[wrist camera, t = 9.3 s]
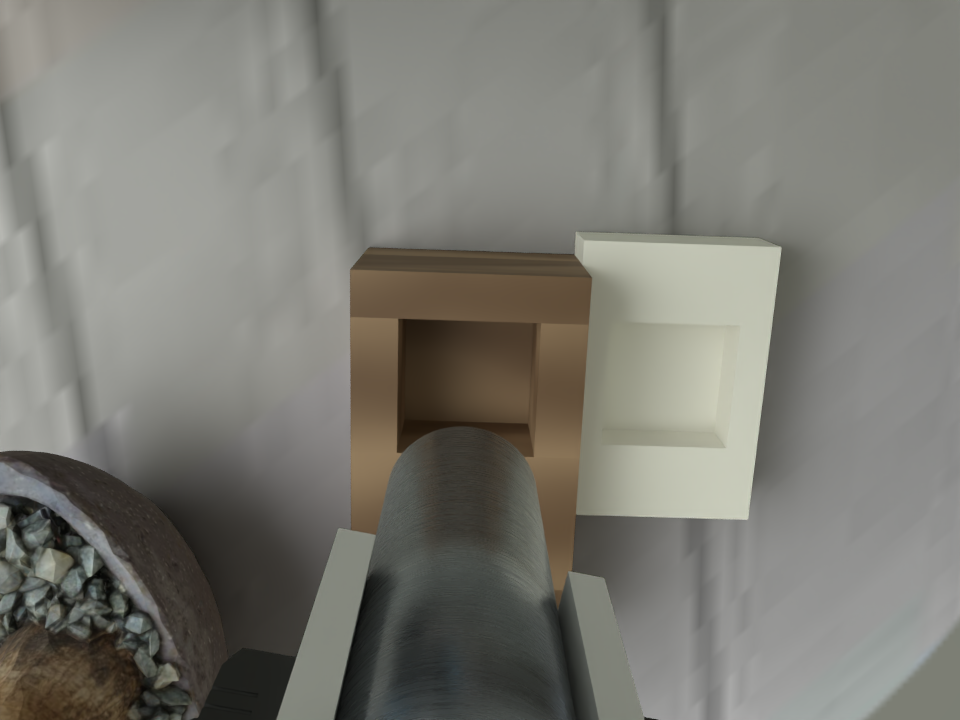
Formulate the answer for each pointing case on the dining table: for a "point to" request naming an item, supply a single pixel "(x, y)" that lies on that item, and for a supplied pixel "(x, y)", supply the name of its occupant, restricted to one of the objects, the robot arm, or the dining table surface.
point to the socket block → (470, 369)
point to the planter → (98, 600)
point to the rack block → (674, 373)
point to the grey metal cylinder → (459, 592)
